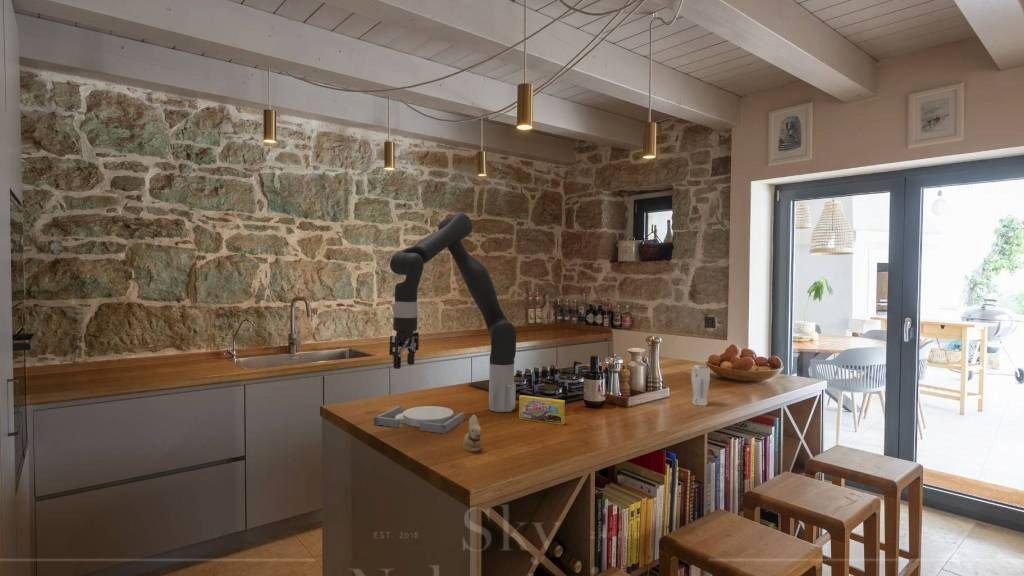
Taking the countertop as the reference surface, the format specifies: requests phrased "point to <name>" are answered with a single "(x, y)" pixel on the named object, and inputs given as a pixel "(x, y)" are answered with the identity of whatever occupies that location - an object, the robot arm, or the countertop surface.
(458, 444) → the countertop surface
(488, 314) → the robot arm
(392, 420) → the lid holder
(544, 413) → the candy box
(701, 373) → the beer glass
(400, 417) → the lid
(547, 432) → the countertop surface
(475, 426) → the chocolate bunny
